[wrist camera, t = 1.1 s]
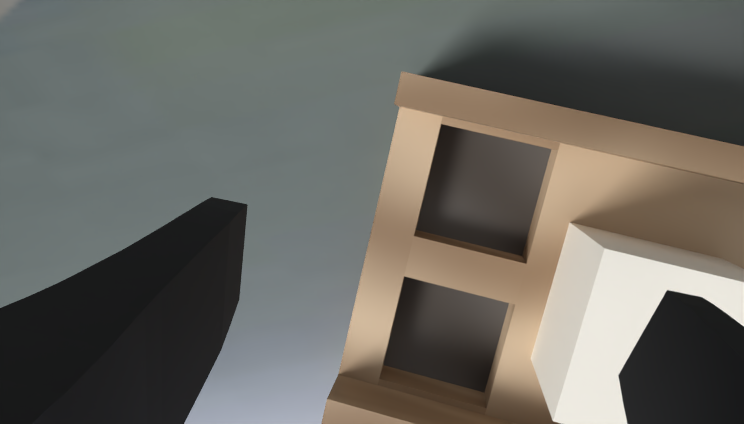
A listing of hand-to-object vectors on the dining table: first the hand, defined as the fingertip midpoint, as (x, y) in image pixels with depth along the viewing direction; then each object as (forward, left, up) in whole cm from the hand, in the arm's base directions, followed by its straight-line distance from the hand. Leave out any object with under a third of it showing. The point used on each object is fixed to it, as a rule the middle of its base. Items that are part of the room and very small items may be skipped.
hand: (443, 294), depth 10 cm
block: (-2, -7, -10) cm, 12 cm away
